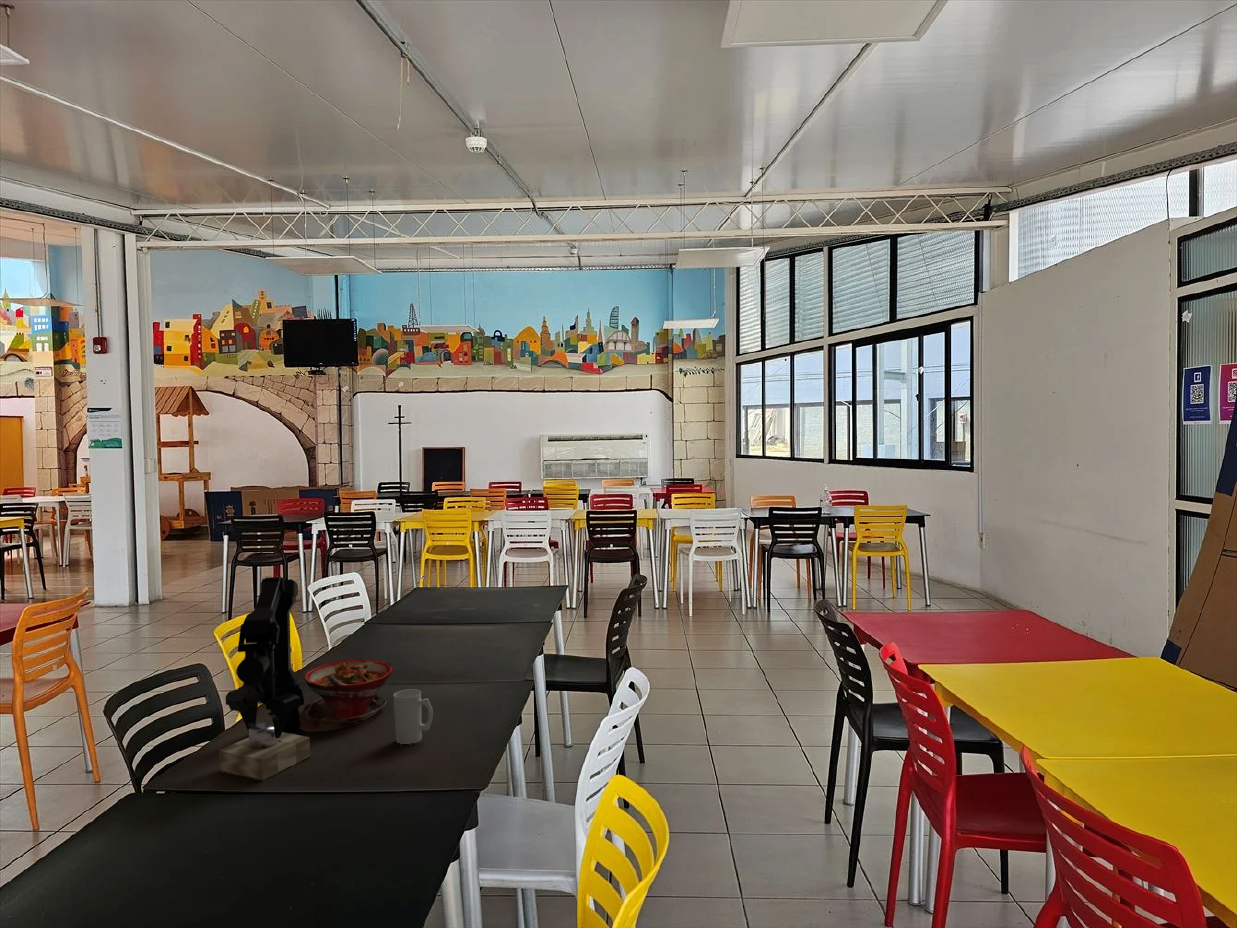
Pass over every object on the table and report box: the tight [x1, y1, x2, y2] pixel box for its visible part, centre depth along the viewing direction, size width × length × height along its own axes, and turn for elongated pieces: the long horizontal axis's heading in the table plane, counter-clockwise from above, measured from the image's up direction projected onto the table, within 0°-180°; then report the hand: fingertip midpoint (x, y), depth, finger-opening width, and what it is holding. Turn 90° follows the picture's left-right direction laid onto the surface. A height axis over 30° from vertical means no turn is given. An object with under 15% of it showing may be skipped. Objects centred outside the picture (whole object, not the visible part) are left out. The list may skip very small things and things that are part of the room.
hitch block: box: [218, 732, 311, 780], centre depth 194 cm, size 14×14×5 cm
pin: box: [248, 721, 280, 750], centre depth 194 cm, size 7×7×9 cm
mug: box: [393, 688, 434, 745], centre depth 207 cm, size 10×7×12 cm, turn 78°
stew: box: [298, 658, 394, 732], centre depth 226 cm, size 28×24×16 cm
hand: (264, 735), depth 194 cm, fingers open, 8 cm apart
